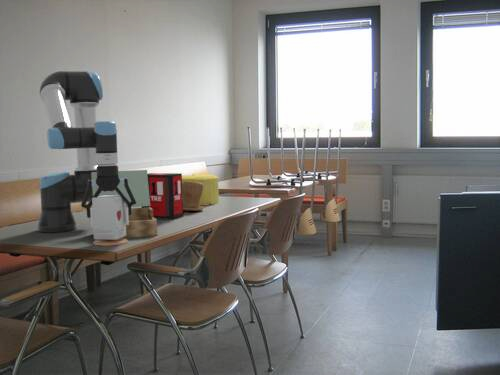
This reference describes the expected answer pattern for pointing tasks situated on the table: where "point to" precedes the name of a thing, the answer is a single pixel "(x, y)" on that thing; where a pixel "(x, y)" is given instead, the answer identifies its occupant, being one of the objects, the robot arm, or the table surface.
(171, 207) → the cleaning product box
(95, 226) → the supplement box
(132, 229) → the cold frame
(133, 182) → the sage green board
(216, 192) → the cheese
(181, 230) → the table surface
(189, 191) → the brown tapered block
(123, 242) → the tan round disc
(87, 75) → the robot arm
